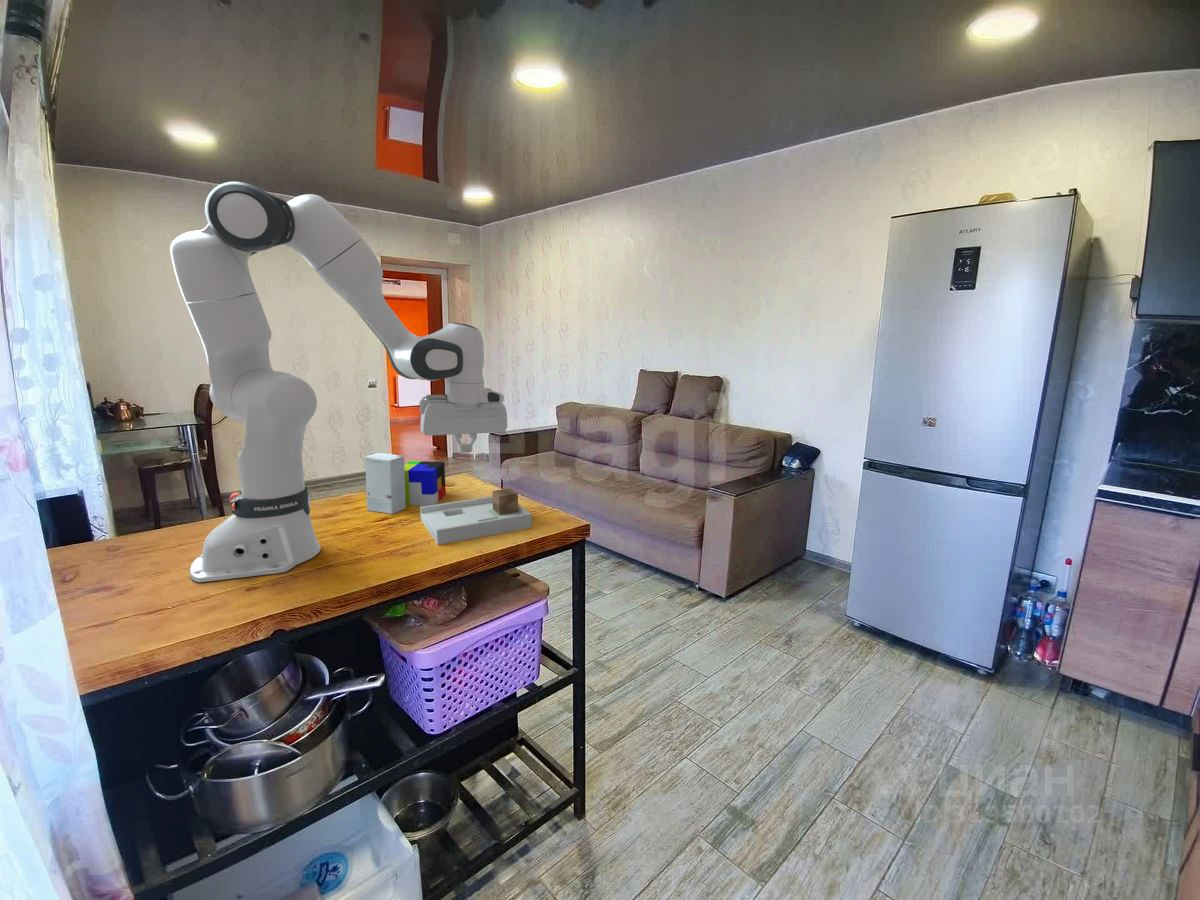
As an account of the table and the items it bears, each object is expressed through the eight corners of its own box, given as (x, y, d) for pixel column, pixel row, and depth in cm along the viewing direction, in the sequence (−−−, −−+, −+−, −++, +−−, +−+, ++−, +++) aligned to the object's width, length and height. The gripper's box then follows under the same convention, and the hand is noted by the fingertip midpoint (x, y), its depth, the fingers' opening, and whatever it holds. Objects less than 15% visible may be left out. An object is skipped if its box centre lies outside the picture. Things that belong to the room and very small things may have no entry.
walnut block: (499, 515, 130) (499, 496, 128) (492, 509, 134) (492, 490, 133) (518, 512, 132) (517, 493, 131) (511, 506, 136) (510, 488, 135)
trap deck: (438, 544, 116) (437, 530, 115) (420, 520, 131) (420, 506, 130) (531, 527, 127) (531, 514, 127) (506, 506, 142) (505, 494, 141)
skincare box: (366, 511, 136) (362, 456, 133) (382, 504, 142) (378, 451, 138) (393, 515, 134) (389, 459, 130) (408, 507, 140) (404, 454, 136)
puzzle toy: (434, 506, 141) (432, 471, 139) (398, 505, 141) (395, 470, 139) (445, 494, 151) (444, 461, 149) (412, 494, 151) (409, 461, 149)
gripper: (422, 396, 113) (423, 457, 116) (510, 395, 124) (509, 451, 126) (416, 393, 119) (417, 452, 121) (501, 392, 129) (500, 447, 132)
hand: (465, 451), depth 124 cm, fingers closed
